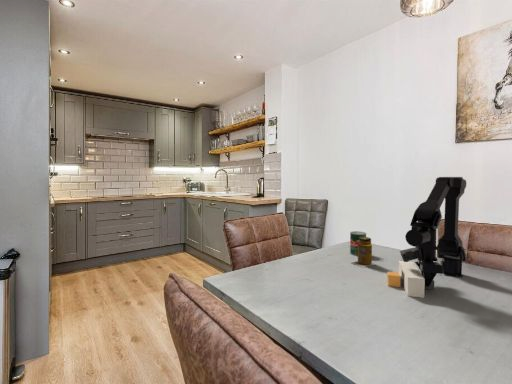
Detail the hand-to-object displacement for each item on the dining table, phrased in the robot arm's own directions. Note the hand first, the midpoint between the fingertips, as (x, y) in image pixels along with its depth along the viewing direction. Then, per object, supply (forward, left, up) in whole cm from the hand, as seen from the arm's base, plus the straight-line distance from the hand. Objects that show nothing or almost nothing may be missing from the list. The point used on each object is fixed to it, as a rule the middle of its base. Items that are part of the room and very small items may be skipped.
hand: (426, 284), depth 105 cm
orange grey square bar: (+5, 0, -1) cm, 5 cm away
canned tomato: (+23, -42, -1) cm, 48 cm away
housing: (+5, 0, -1) cm, 5 cm away
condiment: (+21, -24, -1) cm, 32 cm away
